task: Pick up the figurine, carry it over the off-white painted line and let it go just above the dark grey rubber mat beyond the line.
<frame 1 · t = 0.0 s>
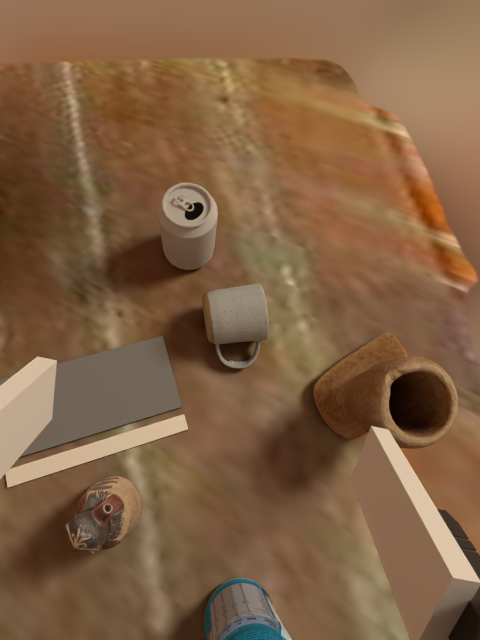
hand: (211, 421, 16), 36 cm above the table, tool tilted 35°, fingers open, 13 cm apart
beverage bottle: (238, 615, 45), on the table
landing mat: (89, 394, 50), on the table
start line: (100, 449, 48), on the table
can: (188, 250, 57), on the table
ceramic mug: (235, 331, 55), on the table
brown boot planter: (364, 394, 54), on the table
figurine: (113, 506, 46), on the table
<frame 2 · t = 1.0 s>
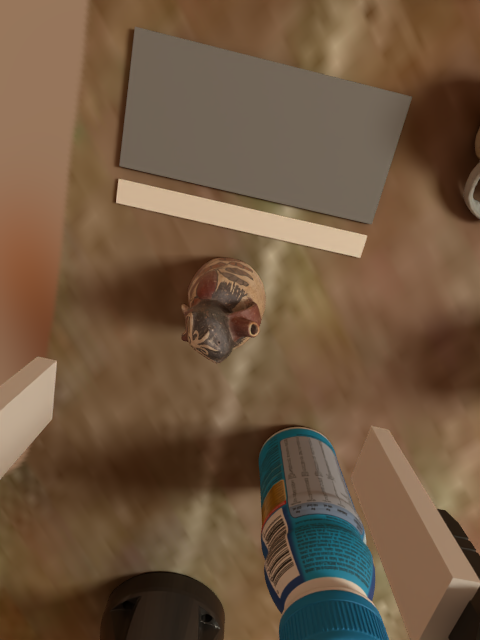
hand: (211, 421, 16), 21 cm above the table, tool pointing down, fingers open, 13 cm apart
beverage bottle: (295, 455, 41), on the table
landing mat: (261, 133, 31), on the table
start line: (242, 219, 33), on the table
figurine: (226, 294, 36), on the table
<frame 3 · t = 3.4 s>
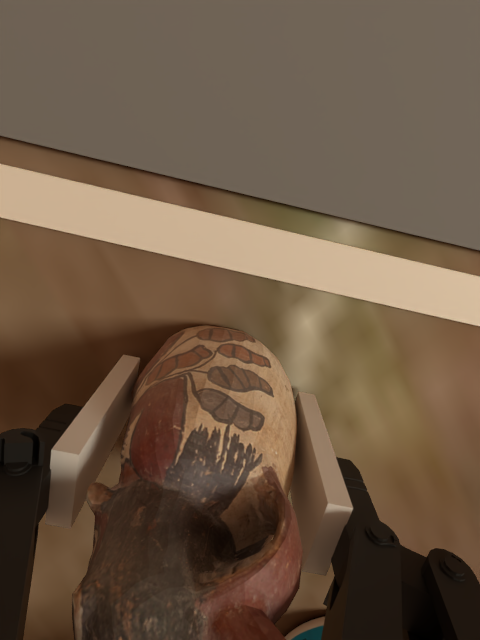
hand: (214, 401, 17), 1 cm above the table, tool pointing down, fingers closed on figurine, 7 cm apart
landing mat: (294, 53, 14), on the table
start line: (249, 247, 16), on the table
figurine: (215, 392, 18), on the table, touching gripper
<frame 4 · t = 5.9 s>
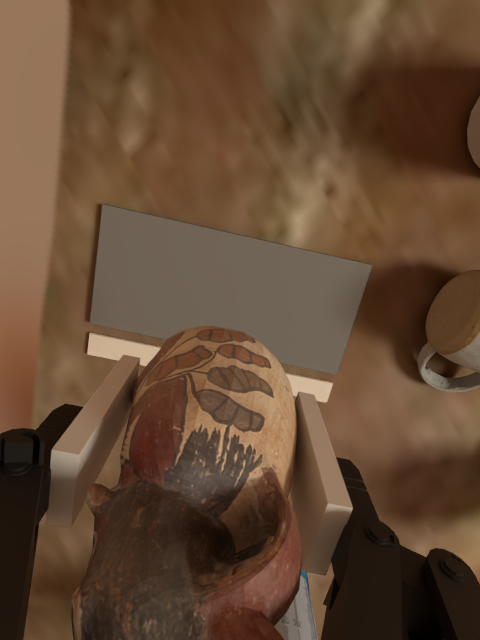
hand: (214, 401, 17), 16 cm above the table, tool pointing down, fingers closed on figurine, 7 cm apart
beverage bottle: (269, 573, 42), on the table
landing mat: (227, 293, 32), on the table
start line: (211, 367, 34), on the table
ceramic mug: (462, 328, 33), on the table
figurine: (215, 392, 18), point 15 cm above the table, touching gripper
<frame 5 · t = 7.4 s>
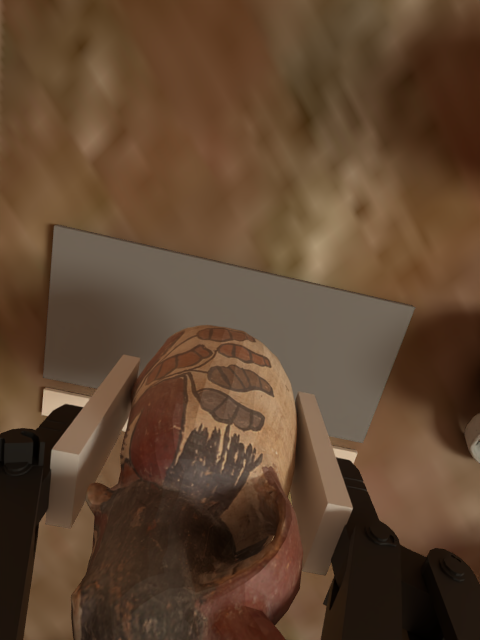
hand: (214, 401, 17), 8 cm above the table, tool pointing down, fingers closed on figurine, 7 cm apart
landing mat: (222, 341, 25), on the table
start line: (202, 431, 27), on the table
figurine: (215, 392, 18), point 7 cm above the table, touching gripper
when the fingers open (3 cm above the table, at t = 8.7 s): figurine drops 2 cm, resting on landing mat.
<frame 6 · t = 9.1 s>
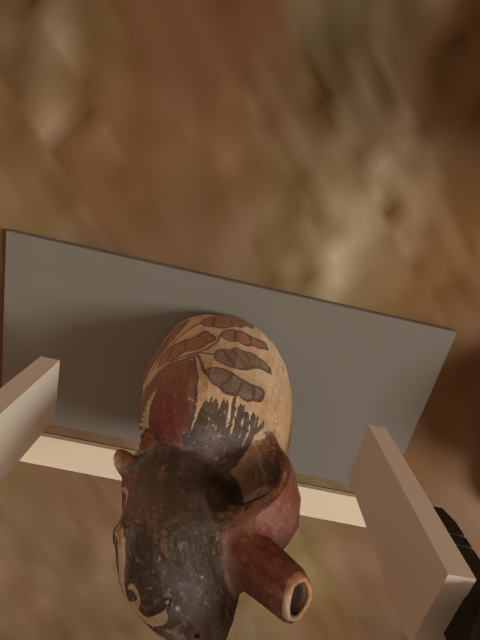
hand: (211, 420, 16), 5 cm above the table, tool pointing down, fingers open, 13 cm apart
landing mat: (218, 371, 20), on the table
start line: (194, 476, 22), on the table
figurine: (217, 375, 20), resting on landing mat
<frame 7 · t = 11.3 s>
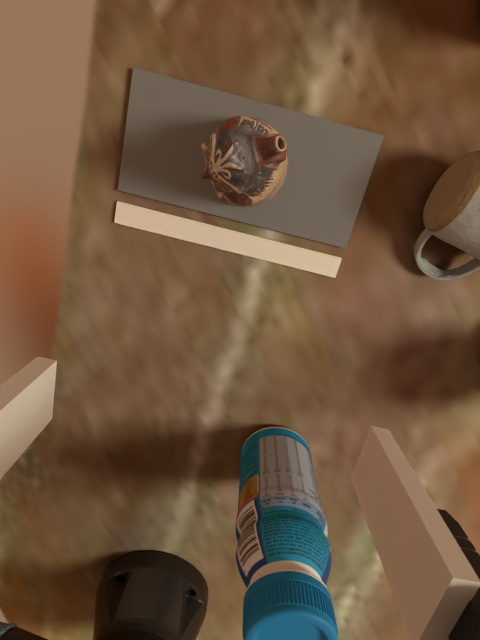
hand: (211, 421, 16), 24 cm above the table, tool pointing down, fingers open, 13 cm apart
beverage bottle: (274, 451, 45), on the table
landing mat: (246, 164, 34), on the table
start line: (229, 240, 37), on the table
ceramic mug: (458, 221, 36), on the table
figurine: (246, 164, 34), resting on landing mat
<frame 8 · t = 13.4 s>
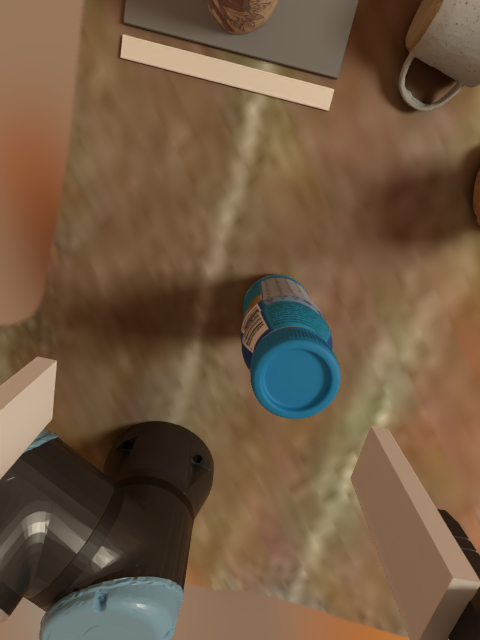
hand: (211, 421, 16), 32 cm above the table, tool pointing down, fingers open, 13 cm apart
beverage bottle: (275, 305, 47), on the table
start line: (228, 74, 39), on the table
ceramic mug: (438, 56, 39), on the table
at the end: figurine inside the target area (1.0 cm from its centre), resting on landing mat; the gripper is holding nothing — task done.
